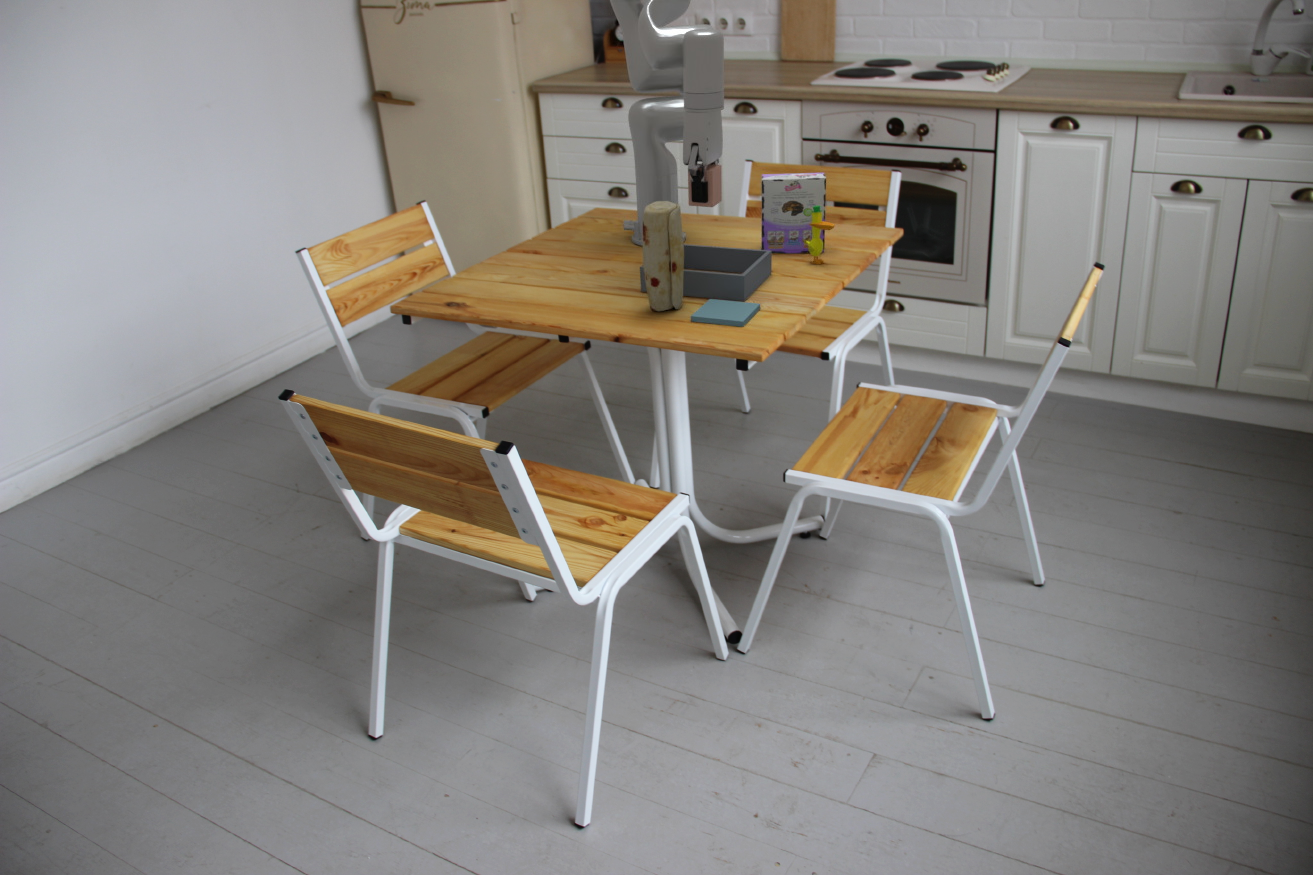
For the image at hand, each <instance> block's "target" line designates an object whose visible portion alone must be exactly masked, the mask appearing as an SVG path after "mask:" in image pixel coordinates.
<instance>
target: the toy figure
mask: <svg viewBox="0 0 1313 875" xmlns="http://www.w3.org/2000/svg"><path fill="white" fill-rule="evenodd" d="M813 210H814V211H812V212H813V213H812V223H810V224H809V225H810V226H812V235H813V238H812V240H811V241H810V242H809V241H806V242H807V245H808V248H809V252H810V253H809V254H810V255H811V256H812V257H813V260H812V261H811V264H815V265H822V264H824V262H825V261H824V260H823V259H822V258H819V257H820V255H821V254H822V253H823V252H822V251H823V241H822V240H821V239H820V233H821V229H823V230H825V231H832V230H833V229H834V228H835V226H836V225H835V224H834V223H833V222H828V221H825V222H824V221H822V212H821V211H822V210H820V206H813Z"/></svg>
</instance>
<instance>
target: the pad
mask: <svg viewBox="0 0 1313 875" xmlns="http://www.w3.org/2000/svg"><path fill="white" fill-rule="evenodd" d="M760 309H761V303H756V302H746V301H735V300H725V299H714V298H708V300H707V301H706V302H705V303H703V305H701V306H700V307H699V308H698V309H697V310H696V311H695V312H693V314H691V315H690V321H691V322H692V323H693V322H694V323H695V322H696V323H704V324H705V323H706V324H713V325H714V324H716V325H724V326H730V327H731V326H732V327H741V328H742V327H744V326H746V325H747V324H748V322H749V321H750V320H752V318H753V317H754V316H755V315H756V314H757V313H758V312H759V311H760Z"/></svg>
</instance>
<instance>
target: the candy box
mask: <svg viewBox="0 0 1313 875" xmlns="http://www.w3.org/2000/svg"><path fill="white" fill-rule="evenodd" d="M760 183H761V184H760V186H761V188H760V189H761V190H760V191H761V197H760V198H761V203H760V204H761V205H760V206H761V223H760V224H761V225H760V226H761V230H760V231H761V237H760V238H761V240H760V242H761V243H760V250H770V251H772V253H783V254H810V252H809V248H808V245H807V242H806V241H809V242H810V241H811V240H812V238H813V235H812V226H810V225H809V224H810V223H812V213H813V212H812V211H814V210H813V206H820V210H822V211H821V212H822V221H824V222H826V202H827V201H826V196H827V195H826V194H827V176H826V174H825V172H805V173H804V172H803V173H802V172H801V173H794V172H793V173H768V174H766V173H765V174H763V173H762V174H761V182H760ZM825 232H826V230H823V229H821V233H820V239H821V240H822V241H823V251H822V252H821V253H825V243H826V242H825V239H826V238H825V236H826V233H825ZM807 252H808V253H807Z"/></svg>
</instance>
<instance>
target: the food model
mask: <svg viewBox="0 0 1313 875" xmlns="http://www.w3.org/2000/svg"><path fill="white" fill-rule="evenodd" d="M681 213H682V212H681V205H680V204H679V203H678V204H676V203H671V202H669V201H657V202H653V203H651V204H649V205H648V206H646V208H645V210H644V213H643V246H642V262H643V264H642V265H643V268H644V275H645V282H646V288H647V292H646V294H647V299H648V300H647V301H648V303H649V308H650V310H651V311H655V312H663V311H666V310H671V309H673V308H674V309H675V310H679V309H681V308H682V305H683V297H684V296H683V273H684V270H685V268H684V244H685V243H684V241H683V235H682V231H683V225H682V222H683V221H682V214H681Z"/></svg>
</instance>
